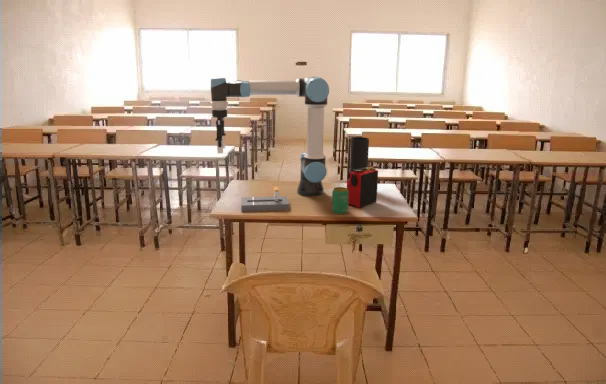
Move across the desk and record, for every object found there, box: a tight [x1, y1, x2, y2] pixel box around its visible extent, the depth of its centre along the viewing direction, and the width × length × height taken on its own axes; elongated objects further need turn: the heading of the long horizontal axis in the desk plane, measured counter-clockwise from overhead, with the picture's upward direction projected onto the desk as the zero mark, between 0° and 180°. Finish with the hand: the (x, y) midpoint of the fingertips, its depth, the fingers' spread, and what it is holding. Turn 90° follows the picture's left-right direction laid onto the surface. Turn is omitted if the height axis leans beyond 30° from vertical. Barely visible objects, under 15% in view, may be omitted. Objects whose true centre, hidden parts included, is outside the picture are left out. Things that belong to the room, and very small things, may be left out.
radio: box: [346, 166, 379, 209], centre depth 241 cm, size 16×10×20 cm, turn 134°
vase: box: [349, 136, 370, 172], centre depth 266 cm, size 10×10×30 cm
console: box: [240, 195, 290, 212], centre depth 237 cm, size 24×14×3 cm, turn 97°
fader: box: [273, 186, 280, 201], centre depth 237 cm, size 2×5×9 cm, turn 7°
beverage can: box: [331, 186, 349, 215], centre depth 228 cm, size 8×8×12 cm
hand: (221, 150), depth 236 cm, fingers open, 13 cm apart
